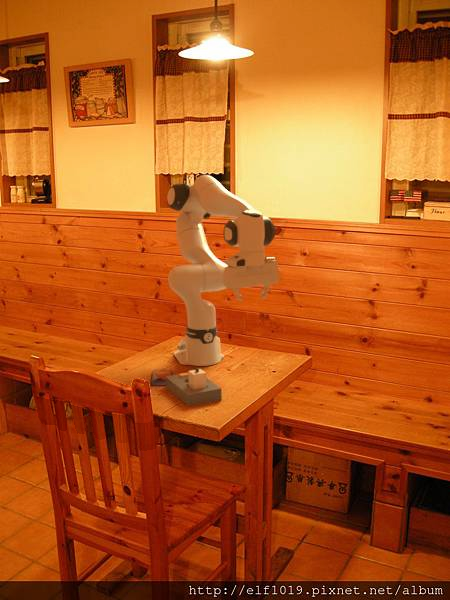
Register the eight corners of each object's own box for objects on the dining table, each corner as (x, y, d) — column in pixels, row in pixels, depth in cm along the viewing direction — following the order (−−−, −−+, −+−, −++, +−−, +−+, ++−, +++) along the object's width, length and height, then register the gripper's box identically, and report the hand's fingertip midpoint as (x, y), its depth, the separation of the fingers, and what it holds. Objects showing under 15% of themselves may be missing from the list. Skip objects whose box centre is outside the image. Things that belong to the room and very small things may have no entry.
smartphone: (150, 388, 220) (150, 385, 220) (152, 373, 235) (152, 370, 234) (171, 387, 220) (171, 384, 220) (172, 372, 235) (172, 370, 235)
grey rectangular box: (165, 387, 219) (165, 374, 218) (196, 381, 224) (196, 369, 223) (188, 406, 201) (188, 392, 200) (221, 399, 207) (221, 386, 206)
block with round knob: (189, 396, 210) (188, 367, 208) (200, 394, 212) (200, 365, 210) (194, 400, 206) (193, 371, 204) (206, 398, 208) (205, 369, 206)
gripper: (273, 255, 218) (272, 294, 221) (220, 260, 209) (221, 300, 212) (282, 257, 213) (282, 297, 216) (229, 262, 204) (229, 303, 207)
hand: (251, 298), depth 214 cm, fingers open, 8 cm apart
